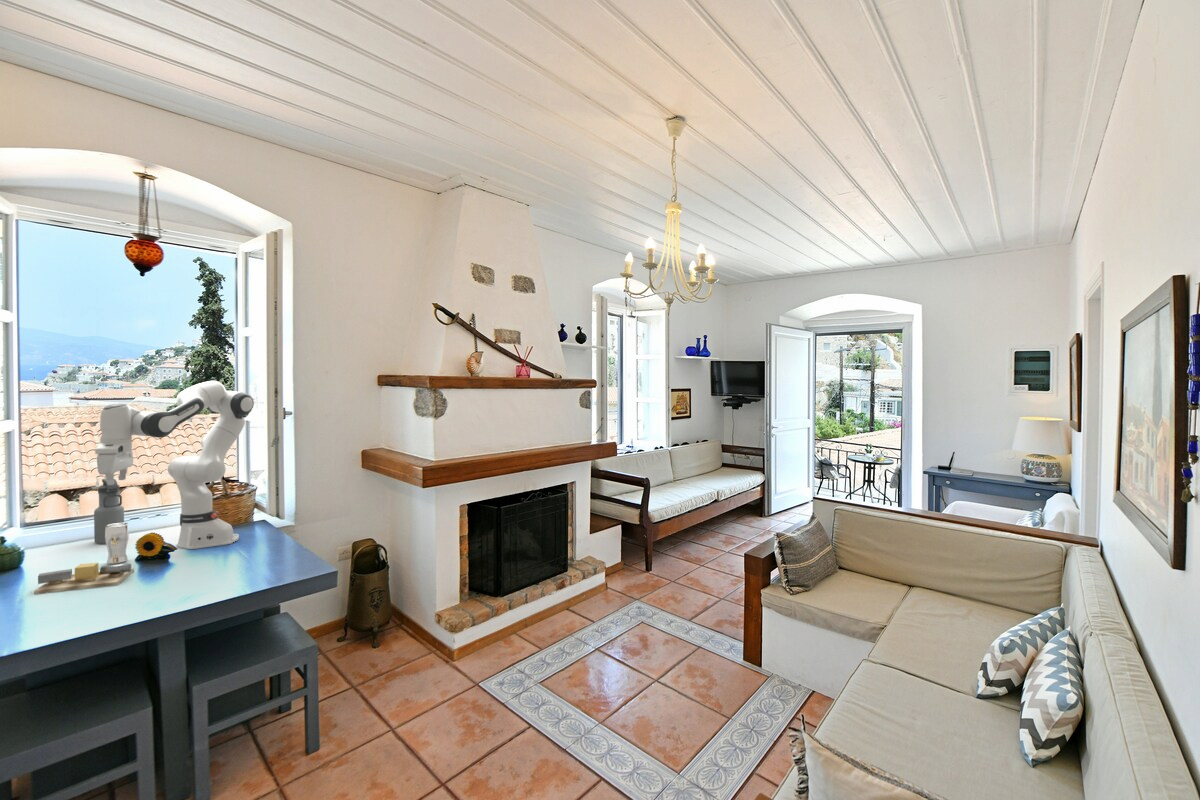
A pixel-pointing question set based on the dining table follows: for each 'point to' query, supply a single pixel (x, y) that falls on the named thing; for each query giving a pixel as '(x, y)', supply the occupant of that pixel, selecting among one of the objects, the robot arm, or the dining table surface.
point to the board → (83, 582)
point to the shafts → (68, 573)
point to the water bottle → (107, 510)
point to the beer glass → (116, 542)
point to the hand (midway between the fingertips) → (116, 482)
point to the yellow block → (86, 571)
